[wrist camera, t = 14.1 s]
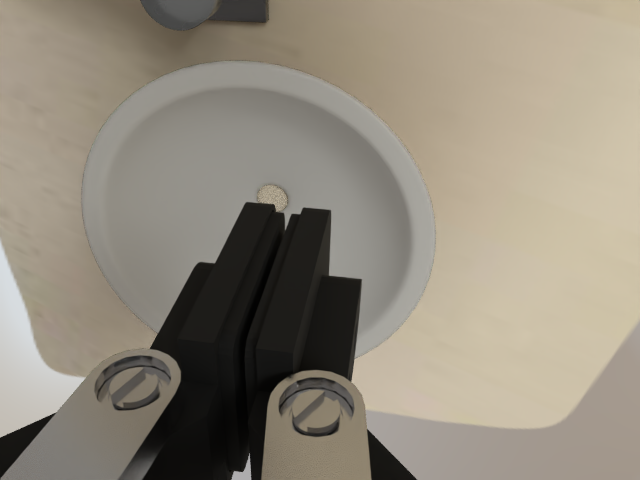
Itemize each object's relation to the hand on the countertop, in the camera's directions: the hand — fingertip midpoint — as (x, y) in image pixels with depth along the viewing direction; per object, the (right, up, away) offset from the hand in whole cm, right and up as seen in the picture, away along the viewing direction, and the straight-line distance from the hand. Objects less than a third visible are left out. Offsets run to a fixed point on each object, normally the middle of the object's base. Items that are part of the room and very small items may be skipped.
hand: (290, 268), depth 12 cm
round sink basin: (-3, +4, +34) cm, 34 cm away
